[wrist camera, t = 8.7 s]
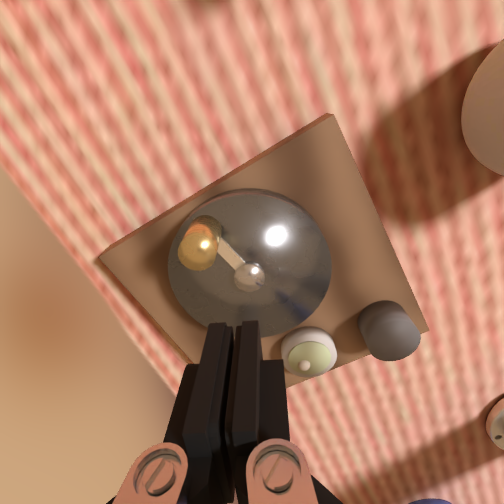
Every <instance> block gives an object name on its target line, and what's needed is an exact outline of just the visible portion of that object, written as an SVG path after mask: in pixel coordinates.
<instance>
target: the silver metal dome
mask: <svg viewBox="0 0 504 504" xmlns="http://www.w3.org/2000/svg"><path fill="white" fill-rule="evenodd" d="M331 273H332V261H331V255H330V251H329V248H328V245H327V242H326V240H325V238H324V236H323V234H322V232H321V230H320V228H319V226H318V224H317V223H316V221H315V220H314V219H313V217H312V216H311V215H310V214H309V213H308V212H307V211H306V209H304V208H303V207H302V206H301V205H299V204H298V203H297V202H295V201H294V200H292V199H290V198H289V197H287V196H284V195H282V194H280V193H277V192H273V191H270V190H265V189H258V188H242V189H234V190H230V191H226V192H222V193H220V194H217V195H215V196H213V197H211V198H209V199H207V200H206V201H204V202H203V203H201V204H200V205H199V206H197V207H196V208H195V209H194V210H193V211H192V212H191V213H190V214H189V215H188V217H187V218H186V220H185V221H184V222H183V224H182V226H181V227H180V229H179V231H178V232H177V234H176V236H175V238H174V240H173V242H172V245H171V248H170V252H169V257H168V275H169V280H170V284H171V288H172V290H173V292H174V295H175V297H176V298H177V300H178V302H179V303H180V305H181V306H182V307H183V308H184V310H185V311H186V312H187V313H188V314H189V315H190V316H191V317H192V318H194V319H195V320H196V321H197V322H199V323H200V324H202V325H204V326H205V327H207V328H208V326H209V324H210V323H220V322H226V324H227V326H232V327H233V333H234V337H235V333H236V326H241V325H242V322H243V321H252V320H258V321H259V327H260V336H261V338H264V337H269V336H274V335H277V334H281V333H283V332H286V331H288V330H290V329H292V328H294V327H296V326H297V325H299V324H301V323H302V322H303V321H305V320H306V319H307V318H308V317H309V316H310V315H311V314H313V312H314V311H315V310H316V309H317V308H318V307H319V305H320V304H321V302H322V300H323V299H324V297H325V295H326V293H327V290H328V287H329V284H330V280H331Z"/></svg>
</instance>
